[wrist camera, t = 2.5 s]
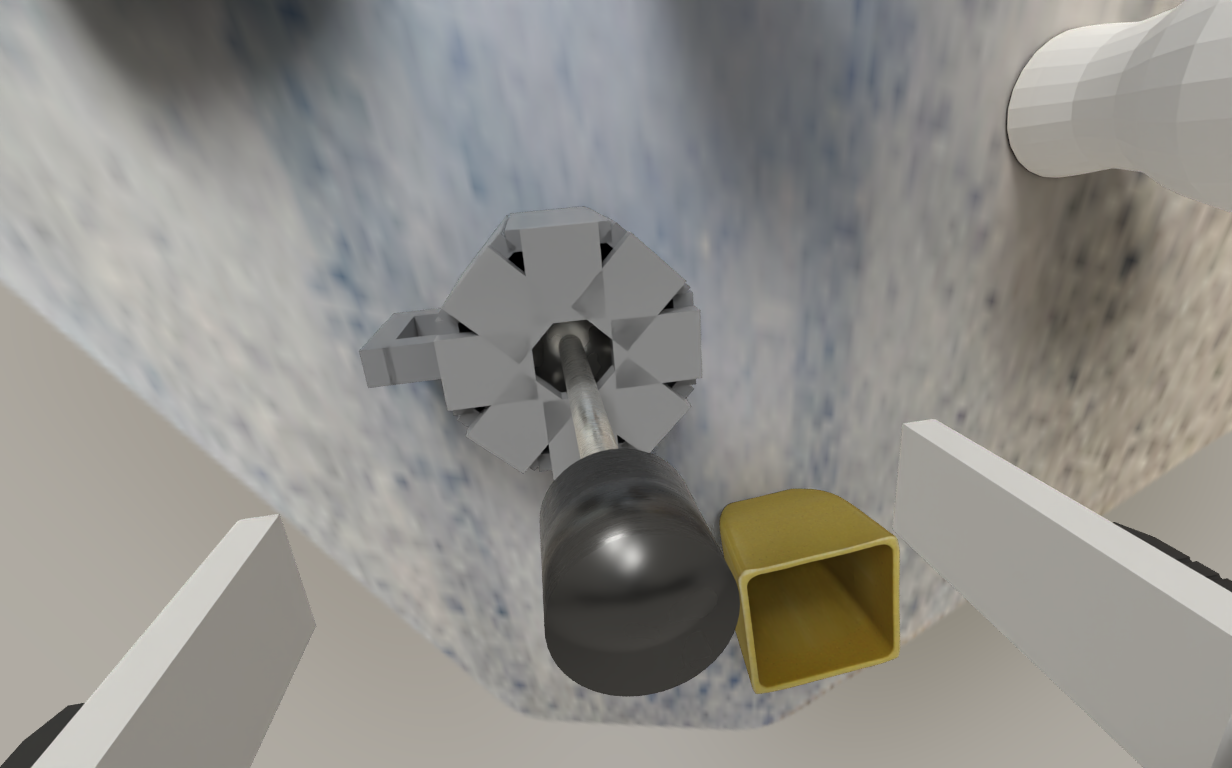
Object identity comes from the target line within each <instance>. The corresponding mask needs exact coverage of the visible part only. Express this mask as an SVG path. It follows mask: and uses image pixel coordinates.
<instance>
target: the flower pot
mask: <svg viewBox="0 0 1232 768" xmlns="http://www.w3.org/2000/svg"><path fill="white" fill-rule="evenodd" d="M720 534H721V540H722V547H723V553H724V559H725V561H726V562H727V564H728V566H729V568H730V570H731V572H732V574H733V576H734V578H735V581H736V583H737V586H738V590H739V596H740V612H739V618H738V622H737V626H736V628H735V631H736V634H737V638H738V641H739V644H740V648H741V651H742V654H743V658H744V661H745V664H746V668H747V671H748V674H749V678H750V681H751V684H752V688H753V690H754V692H755V693H756V694H762V693H769V692H774V691H778V690H783V689H787V688H791V687H795V686H799V685H802V684H806V683H810V682H813V681H817V680H822V679H825V678H829V677H832V676H836V675H840V674H844V673H847V672H851V671H855V670H858V669H862V668H867V667H871V666H875V665H878V664H882V663H884V662H887V661H890V660H892V659H895V658H897V657H898V656H899V652H900V612H899V578H900V550H899V543H898V539H897V538H896V537H895V536H894V535H893V534H891V533H890V532H888V531H887V530H886V529H885V528H883V527H882V526H881V525H879V524H878V523H877V522H875V521H874V520H873V519H871V518H870V517H868V516H867V515H866V514H864V513H863V512H862V511H860V510H859V509H858V508H856V507H855V506H853V505H852V504H851V503H849V502H848V501H846V500H844V499H843V498H841V497H839V496H837V495H834V494H832V493H829V492H825V491H821V490H814V489H789V490H785V491H781V492H777V493H773V494H768V495H764V496H760V497H756V498H752V499H747V500H743V501H738V502H734V503H730V504H728V505H727V506H726V507H725V508H724V509H723V511H722V514H721V517H720Z"/></svg>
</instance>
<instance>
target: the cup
mask: <svg viewBox="0 0 1232 768" xmlns="http://www.w3.org/2000/svg"><path fill="white" fill-rule="evenodd" d="M1007 131H1008V136H1009V141H1010V146H1011V148H1012V150H1013V152H1014V154H1015V156H1016V158H1017V160H1018V161H1019V162H1020V163H1021V164H1022V165H1023V166H1024V167H1025V168H1026V169H1027V170H1028V171H1030V172H1033V173H1035V174H1037V175H1039V176H1042V177H1054V178H1058V177H1066V176H1074V175H1080V174H1086V173H1091V172H1096V171H1101V170H1107V169H1112V168H1116V169H1123V170H1130V171H1137V172H1143V173H1144V174H1146V175H1147V176H1149V177H1150V178H1152V179H1153V180H1154V181H1156V182H1157V183H1159V184H1160V185H1162V186H1163V187H1165V188H1167V189H1169V190H1171V191H1173V192H1175V193H1178V194H1180V195H1182V196H1184V197H1187V198H1190V199H1193V200H1196V201H1199V202H1202V203H1204V204H1207V205H1210V206H1213V207H1216V208H1219V209H1222V210H1225V211H1227V212H1232V0H1185V1H1184V2H1182V3H1181V4H1180V5H1179V6H1177V7H1176V8H1174V9H1171V10H1169V11H1166V12H1164V13H1161V14H1158V15H1156V16H1153V17H1151V18H1148V19H1146V20H1143V21H1141V22H1127V23H1109V24H1100V25H1092V26H1084V27H1080V28H1075V29H1070V30H1067V31H1065V32H1063V33H1061V34H1059V35H1057V36H1056V37H1054V38H1052V39H1050V40H1049V41H1048V42H1047V43H1046V44H1045V45H1044V46H1042V47H1041V48H1040V49H1039V50H1038V51H1037V52H1036V53H1035V54H1034V55H1033V57H1032V58H1031V59H1030V61H1029V62H1028V63H1027V65H1026V66H1025V67H1024V69H1023V70H1022V72H1021V74H1020V76H1019V78H1018V80H1017V82H1016V84H1015V87H1014V89H1013V92H1012V96H1011V100H1010V104H1009V107H1008V121H1007Z"/></svg>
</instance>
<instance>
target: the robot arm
mask: <svg viewBox="0 0 1232 768" xmlns="http://www.w3.org/2000/svg"><path fill="white" fill-rule="evenodd" d="M892 529H893V530H894V531H895V532H896V533H897V534H898V535H899V536H900V537H901V538H902V539H903V540H904V541H905V542H906V543H907V544H908V545H909V546H910V547H912V548H913V549H914V550H915V551H916V552H917V553H918V554H919V555H920V556H921V557H922V558H923V559H924V560H925V561H926V562H927V563H928V564H929V565H930V566H931V567H933V568H934V569H935V570H936V571H937V572H938V573H939V574H940V575H941V576H942V577H943V578H944V579H945V580H946V581H947V582H948V583H949V584H950V585H951V586H953V587H954V588H955V589H956V590H957V591H958V592H959V593H960V594H961V595H962V596H963V597H964V598H965V599H966V600H967V601H968V602H969V603H970V604H972V605H973V606H974V607H975V608H976V609H977V610H978V611H979V612H980V613H981V614H982V615H983V616H984V617H985V618H986V619H987V620H988V621H989V622H991V623H992V624H993V625H994V626H995V627H996V628H997V629H998V630H999V631H1000V632H1001V633H1002V634H1003V635H1004V636H1005V637H1006V638H1007V639H1008V640H1009V641H1011V643H1013V644H1014V645H1015V646H1016V647H1017V648H1018V649H1019V650H1020V651H1021V652H1022V653H1023V654H1024V655H1025V656H1026V657H1027V658H1028V659H1029V660H1031V662H1033V663H1034V664H1035V665H1036V666H1037V667H1038V668H1039V669H1040V670H1041V671H1042V672H1043V673H1044V674H1045V675H1046V676H1047V677H1048V678H1049V679H1050V680H1051V681H1053V682H1054V683H1055V684H1056V685H1057V686H1058V687H1059V688H1060V689H1061V690H1062V691H1063V692H1064V693H1065V694H1066V695H1067V696H1068V697H1069V698H1070V699H1071V700H1073V701H1074V702H1075V703H1076V704H1077V705H1078V706H1079V707H1080V708H1081V709H1082V710H1083V711H1084V712H1085V713H1086V714H1087V715H1088V716H1089V717H1091V718H1092V719H1093V720H1094V721H1095V722H1096V723H1097V724H1098V725H1099V726H1100V727H1101V728H1102V729H1103V730H1104V731H1105V732H1106V733H1107V734H1108V735H1109V736H1111V737H1112V738H1113V739H1114V740H1115V741H1116V742H1117V743H1118V744H1119V745H1120V746H1121V747H1122V748H1123V749H1124V750H1125V751H1126V752H1127V753H1128V754H1129V755H1130V756H1131V757H1133V758H1134V759H1135V760H1136V761H1137V762H1138V763H1139V764H1140V765H1141V766H1142V767H1143V768H1232V581H1231V580H1229V579H1222V578H1220V576H1219V574H1218V573H1217V572H1215V571H1213V570H1211V569H1210V568H1208V567H1206V566H1204V565H1203V564H1201V563H1199V562H1197V561H1195V562H1192V561H1191V560H1190V557H1189V556H1187V555H1185V554H1183V553H1182V552H1180V551H1178V550H1176V549H1174V548H1173V547H1171V546H1169V545H1167V544H1166V543H1164V542H1162V541H1160V540H1159V539H1157V538H1155V537H1153V536H1150V535H1147V534H1145V533H1142V532H1139V531H1137V530H1134V529H1131V528H1129V527H1126V526H1123V525H1120V524H1118V523H1115V522H1110V521H1109V520H1107V519H1105V518H1103V517H1102V516H1100V515H1098V514H1097V513H1095V512H1093V511H1091V510H1090V509H1088V508H1086V507H1085V506H1083V505H1081V504H1080V503H1078V502H1076V501H1074V500H1073V499H1071V498H1069V497H1068V496H1066V495H1064V494H1062V493H1061V492H1059V491H1057V490H1056V489H1054V488H1052V487H1050V486H1049V485H1047V484H1045V483H1044V482H1042V481H1040V480H1038V479H1037V478H1035V477H1033V476H1032V475H1030V474H1028V473H1026V472H1025V471H1023V470H1021V469H1020V468H1018V467H1016V466H1014V465H1013V464H1011V463H1009V462H1008V461H1006V460H1004V459H1002V458H1001V457H999V456H997V455H996V454H994V453H992V452H990V451H989V450H987V449H985V448H984V447H982V446H980V445H978V444H977V443H975V442H973V441H972V440H970V439H968V438H966V437H965V436H963V435H961V434H960V433H958V432H956V431H954V430H953V429H951V428H949V427H948V426H946V425H944V424H942V423H941V422H939V421H937V420H936V419H930V420H923V421H916V422H909V423H902V434H901V444H900V455H899V465H898V475H897V486H896V496H895V506H894V517H893V527H892ZM315 627H316V623H315V620H314V617H313V614H312V611H311V608H310V605H309V602H308V599H307V596H306V593H305V590H304V587H303V584H302V580H301V577H300V574H299V571H298V568H297V565H296V562H295V559H294V556H293V553H292V550H291V547H290V544H289V541H288V538H287V535H286V532H285V529H284V526H283V523H282V520H281V516H280V514H276V515H269V516H262V517H255V518H249V519H242V520H238V521H237V522H236V523H235V525H234V526H233V527H232V528H231V529H230V531H229V532H228V533H227V534H226V535H225V537H224V538H223V539H222V540H221V541H220V542H219V544H218V545H217V546H216V547H215V549H214V550H213V551H212V552H211V553H210V554H209V556H208V557H207V558H206V559H205V560H204V562H203V563H202V564H201V565H200V566H199V568H198V569H197V570H196V571H195V572H194V574H193V575H192V576H191V577H190V578H189V579H188V581H187V582H186V583H185V584H184V585H183V587H182V588H181V589H180V590H179V591H178V593H177V594H176V595H175V596H174V597H173V599H172V600H171V601H170V602H169V604H168V605H167V606H166V607H165V608H164V609H163V611H162V612H161V613H160V614H159V615H158V617H157V618H156V619H155V620H154V621H153V623H152V624H151V625H150V626H149V627H148V629H147V630H146V631H145V632H144V633H143V634H142V636H141V637H140V638H139V639H138V641H137V642H136V643H135V644H134V645H133V646H132V648H131V649H130V650H129V651H128V652H127V654H126V655H125V656H124V657H123V658H122V660H121V661H120V662H119V663H118V664H117V666H116V667H115V668H114V669H113V670H112V671H111V673H110V674H109V675H108V676H107V677H106V679H105V680H104V681H103V682H102V683H101V685H100V686H99V687H98V688H97V689H96V691H95V692H94V693H93V694H92V696H91V697H90V698H89V699H88V700H87V701H86V703H81V704H75V705H70V706H67V707H66V708H65V709H63V710H62V711H61V712H59V713H58V714H57V715H56V716H54V717H53V718H52V719H51V720H49V721H48V722H47V723H46V724H44V725H43V726H42V727H40V728H39V729H38V730H37V731H35V732H34V733H33V734H32V735H30V736H29V737H28V738H26V739H25V740H24V741H23V742H22V743H21V744H20V745H19V746H18V747H17V749H16V750H15V751H14V752H13V753H12V754H11V755H10V756H9V758H8V759H7V760H6V761H5V762H4V763H3V764H2V765H1V767H0V768H250V766H251V765H252V762H253V760H254V758H255V756H256V754H257V752H258V750H259V747H260V745H261V743H262V741H263V739H264V737H265V735H266V732H267V730H268V728H269V725H270V724H271V722H272V719H273V717H274V715H275V713H276V711H277V709H278V706H279V704H280V702H281V700H282V698H283V696H284V694H285V691H286V689H287V687H288V685H289V683H290V681H291V678H292V676H293V674H294V672H295V670H296V668H297V666H298V664H299V661H300V659H301V657H302V655H303V653H304V651H305V648H306V646H307V644H308V642H309V640H310V638H311V635H312V633H313V631H314V629H315Z"/></svg>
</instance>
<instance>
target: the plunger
mask: <svg viewBox="0 0 1232 768" xmlns="http://www.w3.org/2000/svg"><path fill="white" fill-rule="evenodd" d="M532 351H533V358H534V366H535V373H536V375H537V376H539V377H540V378H541V379H543V380H544V381H546V382H547V383H548V384H550V385H551V386H553V387H554V388H555V389H557V390H558V391H559V392H567V393H568V398H569V403H570V408H571V413H572V418H573V423H574V428H575V433H576V438H577V443H578V448H579V453H580V458H581V459H580V460H578V461H576V462H575V463H573V464H572V465H570V466H569V467H568V468H567V469H565V470H564V471H563V472H562V473H561V474H560V475H559V476H558V477H557V478H556V479H555V481H554V482H553V483H552V485H551V486H550V488H549V490H548V491H547V493H546V495H545V498H544V500H543V503H542V507H541V511H540V539H541V561H542V583H543V604H544V626H545V638H546V642H547V647H548V649H549V652H550V654H551V656H552V658H553V660H554V661H555V663H556V664H557V666H558V667H559V668H560V669H561V670H562V671H563V672H564V674H566V675H567V676H568V677H569V678H571V679H572V680H573V681H575V682H576V683H578V684H580V685H581V686H583V687H586V688H588V689H590V690H593V691H596V692H599V693H603V694H608V695H614V696H642V695H649V694H654V693H658V692H662V691H665V690H668V689H671V688H674V687H676V686H678V685H680V684H682V683H685V682H686V681H688V680H690V679H692V678H693V677H695V676H697V675H698V674H699V673H701V672H702V671H703V670H705V669H706V668H707V667H708V666H709V665H710V664H712V663H713V662H714V661H715V660H716V659H717V657H718V656H719V655H720V654H721V653H722V652H723V650H724V649H725V647H726V646H727V644H728V643H729V641H730V639H731V637H732V635H733V633H734V631H735V628H736V626H737V622H738V618H739V612H740V596H739V590H738V586H737V583H736V581H735V578H734V576H733V574H732V572H731V570H730V568H729V566H728V564H727V562H726V561H725V559H724V557H723V555H722V553H721V551H720V549H719V547H718V545H717V543H716V541H715V539H714V538H713V536H712V534H711V532H710V530H709V528H708V526H707V524H706V522H705V520H704V518H703V517H702V515H701V513H700V511H699V509H698V507H697V505H696V503H695V501H694V499H693V497H692V495H691V494H690V492H689V490H688V488H687V486H686V484H685V482H684V480H683V479H682V477H681V476H680V474H679V473H678V472H677V471H676V470H675V469H674V468H673V467H672V466H671V465H670V464H669V463H667V462H666V461H664V460H663V459H661V458H660V457H658V456H655V455H653V454H651V453H648V452H645V451H641V450H635V449H623V448H619V449H618V446H617V443H616V441H615V438H614V435H613V432H612V429H611V426H610V423H609V420H608V417H607V414H606V412H605V409H604V406H603V403H602V400H601V397H600V394H599V391H598V388H597V385H596V383H597V382H598V381H599V380H600V379H601V378H602V376H603V375H604V374H605V373H606V372H607V370H608V369H609V368H610V367H611V366H612V356H611V345H610V337H608V336H607V335H606V334H605V333H603V332H602V331H601V330H599V329H598V328H597V327H596V326H594V325H593V324H592V323H591V322H589V321H588V320H587V319H586V320H578V321H569V322H560V323H553V324H552V325H551V326H550V327H549V329H548V330H547V331H546V332H545V334H544V335H543V336H542V337H541V339H540V340H539V341H538V342H537V343H536V345H535V346H534V347H533V348H532Z"/></svg>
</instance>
